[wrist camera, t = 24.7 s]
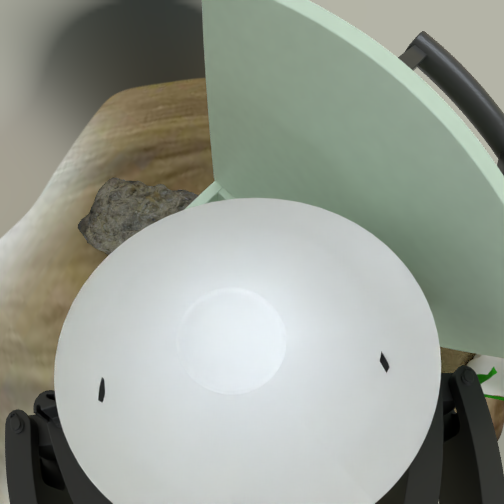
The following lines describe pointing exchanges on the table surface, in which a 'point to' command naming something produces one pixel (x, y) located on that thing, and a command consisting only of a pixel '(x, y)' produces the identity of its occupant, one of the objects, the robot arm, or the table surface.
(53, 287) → the table surface
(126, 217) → the stone
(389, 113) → the lid
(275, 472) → the cup
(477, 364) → the water bottle
